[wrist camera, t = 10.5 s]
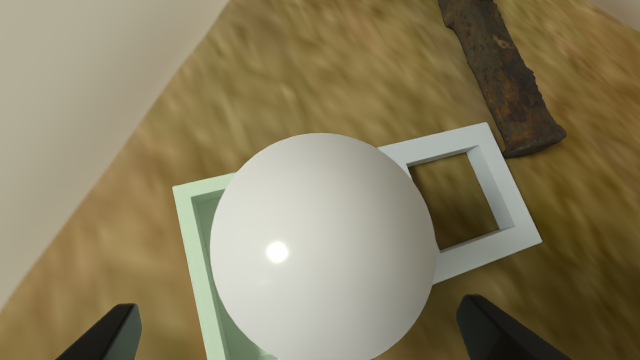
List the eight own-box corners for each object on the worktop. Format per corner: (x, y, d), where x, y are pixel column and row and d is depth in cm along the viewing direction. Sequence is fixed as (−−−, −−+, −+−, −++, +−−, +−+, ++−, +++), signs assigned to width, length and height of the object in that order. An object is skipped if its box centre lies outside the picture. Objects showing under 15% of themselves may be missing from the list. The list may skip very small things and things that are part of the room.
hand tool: (534, 156, 26) (590, 133, 22) (496, 164, 25) (548, 141, 21) (456, -19, 31) (490, -67, 26) (421, -19, 30) (451, -69, 25)
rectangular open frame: (525, 243, 23) (542, 241, 22) (417, 285, 21) (429, 286, 19) (473, 130, 25) (486, 122, 24) (370, 155, 23) (377, 147, 21)
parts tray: (381, 320, 20) (398, 326, 17) (222, 385, 17) (216, 403, 15) (329, 162, 22) (338, 149, 20) (182, 197, 19) (172, 186, 17)
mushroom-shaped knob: (342, 262, 19) (475, 248, 8) (278, 325, 18) (324, 432, 6) (288, 200, 20) (335, 96, 8) (221, 255, 18) (156, 226, 6)
